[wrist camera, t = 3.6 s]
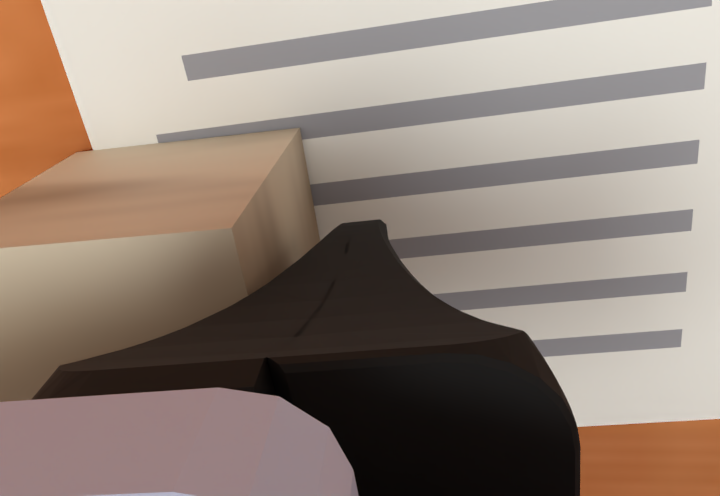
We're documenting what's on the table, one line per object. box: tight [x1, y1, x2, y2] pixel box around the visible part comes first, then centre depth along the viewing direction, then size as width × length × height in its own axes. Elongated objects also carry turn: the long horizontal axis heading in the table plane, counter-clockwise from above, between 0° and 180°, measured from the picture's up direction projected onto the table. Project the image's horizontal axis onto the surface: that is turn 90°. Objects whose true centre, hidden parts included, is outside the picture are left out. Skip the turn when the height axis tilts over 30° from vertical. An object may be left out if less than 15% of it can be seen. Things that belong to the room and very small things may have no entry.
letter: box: [41, 0, 720, 427], centre depth 14 cm, size 12×14×1 cm
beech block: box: [0, 128, 320, 402], centre depth 12 cm, size 5×5×5 cm
